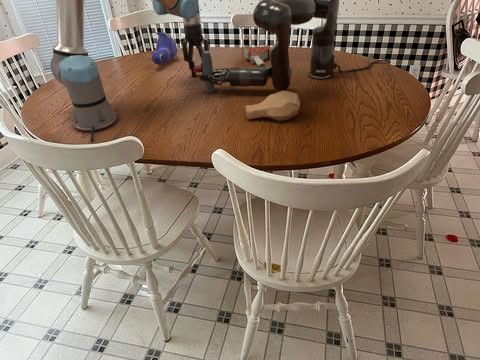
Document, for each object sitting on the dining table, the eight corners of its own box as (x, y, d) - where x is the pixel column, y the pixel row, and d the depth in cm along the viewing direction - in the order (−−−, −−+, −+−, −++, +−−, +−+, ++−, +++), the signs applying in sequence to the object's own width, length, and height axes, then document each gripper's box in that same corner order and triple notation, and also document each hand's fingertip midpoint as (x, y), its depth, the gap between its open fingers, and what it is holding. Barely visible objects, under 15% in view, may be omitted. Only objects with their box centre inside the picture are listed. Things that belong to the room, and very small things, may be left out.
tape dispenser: (262, 73, 170) (281, 58, 183) (262, 62, 167) (281, 48, 179) (231, 66, 178) (251, 52, 190) (230, 56, 174) (251, 42, 187)
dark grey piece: (203, 90, 153) (199, 52, 143) (212, 88, 155) (208, 50, 145) (207, 93, 150) (203, 54, 140) (216, 91, 152) (212, 52, 142)
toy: (165, 64, 197) (145, 70, 175) (161, 31, 190) (139, 33, 168) (182, 63, 195) (163, 69, 172) (178, 30, 188) (158, 32, 166)
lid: (203, 72, 164) (202, 68, 163) (193, 73, 164) (192, 68, 163) (204, 68, 168) (203, 64, 167) (194, 69, 168) (193, 65, 167)
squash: (303, 121, 125) (302, 100, 119) (248, 131, 127) (244, 110, 121) (298, 104, 133) (297, 83, 126) (246, 113, 135) (242, 93, 128)
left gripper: (170, 25, 154) (178, 77, 167) (207, 26, 148) (213, 80, 162) (178, 21, 159) (186, 72, 173) (214, 22, 154) (219, 74, 167)
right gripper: (244, 62, 149) (205, 61, 152) (237, 74, 138) (195, 73, 141) (245, 79, 153) (207, 78, 157) (238, 92, 142) (198, 91, 146)
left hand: (199, 76), depth 167 cm, fingers closed on lid, 5 cm apart
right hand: (202, 76), depth 149 cm, fingers closed on dark grey piece, 4 cm apart
